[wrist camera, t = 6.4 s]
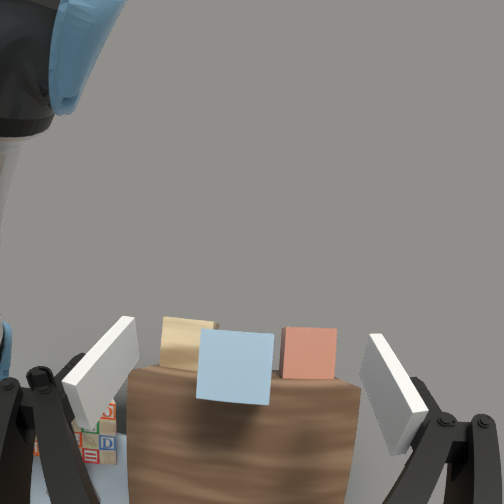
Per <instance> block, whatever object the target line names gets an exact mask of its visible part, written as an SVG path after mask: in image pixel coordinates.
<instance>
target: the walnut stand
mask: <svg viewBox="0 0 504 504" xmlns="http://www.w3.org/2000/svg"><path fill="white" fill-rule="evenodd" d="M159 365H160V364H158V365H153V366H148V367H144V368H139V369H134V370H131V372H130V373H129V375H128V390H127V470H128V488H129V502H130V504H344V499H345V495H346V490H347V484H348V479H349V474H350V469H351V463H352V457H353V451H354V444H355V437H356V430H357V422H358V414H359V404H360V395H361V388H359V387H357V386H354V385H352V384H350V383H347V382H345V381H343V380H340V379H338V378H336V377H334V379H289V378H282V377H281V375H280V374H279V370H272V372H271V385H270V397H269V405H259V404H245V403H234V402H224V401H215V400H207V399H199V398H196V389H197V374H198V371H190V370H183V369H176V368H169V367H162V366H159Z"/></svg>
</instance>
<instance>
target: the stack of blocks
mask: <svg viewBox="0 0 504 504" xmlns="http://www.w3.org/2000/svg"><path fill="white" fill-rule="evenodd" d="M115 410H116V403H115V402H114V400H113V399H112V401H111V402H110V404H109V405H108V407H107V408H106V410H105V411H104V413H103V415H102V416H101V418H100V419H99V421H98V422H97V424H96V425H95V427H94V429H93V430H92V431H91V430H88V429H85V428H82V427H79V426H78V424H77V422H76V419H75V418H74V420H73V421H72V422H71V424H72V426H73V429H74V433H75V436H76V437H78V438H79V443H78V446H79V449H80V452H81V455H82V458H83V461H84V462H87V463H98V464H113V465H116V419H115V412H116V411H115ZM33 455H37V456H40V454H39V449H38V443H37V436H36V438H35V446H34V454H33Z"/></svg>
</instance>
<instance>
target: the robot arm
mask: <svg viewBox="0 0 504 504" xmlns="http://www.w3.org/2000/svg"><path fill="white" fill-rule="evenodd" d="M126 1H127V0H0V241H1V235H2V229H3V223H4V219H5V213H6V210H7V205H8V201H9V196H10V192H11V189H12V185H13V181H14V177H15V174H16V171H17V167H18V164H19V161H20V158H21V155H22V151H23V148H24V146H25V144H26V143H27V142H29V141H31V140H33V139H35V138H37V137H39V136H41V135H43V134H44V133H45V132H46V131H47V130H48V128H49V126H50V124H51V122H52V120H53V117H54V115H55V114H56V115H58V116H61V115H64V114H66V115H69V114H72V112H74V110H75V109H76V106H77V104H78V102H79V99H80V97H81V95H82V92H83V89H84V87H85V85H86V82H87V80H88V78H89V75H90V73H91V71H92V69H93V67H94V65H95V63H96V60H97V58H98V56H99V54H100V52H101V50H102V48H103V46H104V44H105V41H106V40H107V37H108V36H109V33H110V31H111V30H112V28H113V26H114V24H115V22H116V20H117V18H118V16H119V14H120V13H121V11H122V9H123V7H124V5H125V3H126ZM11 348H12V330H11V327H10V325H9V324H7V323H5V322H4V321H2V318H1V315H0V504H30V488H31V474H32V463H33V454H34V446H35V438H36V436H37V443H38V449H39V454H40V459H41V464H42V469H43V474H44V478H45V482H46V486H47V490H48V494H49V497H50V501H51V504H100V502H99V500H98V498H97V495H96V493H95V490H94V488H93V485H92V483H91V480H90V478H89V475H88V472H87V470H86V467H85V464H84V461H83V458H82V455H81V452H80V449H79V446H78V443H77V439H76V436H75V433H74V429H73V426H72V424H71V422H72V421H73V420H74V418H75V419H76V422H77V424H78V426H79V427H82V428H85V429H88V430H91V431H92V430H93V429H94V427H95V425H96V424H97V422H98V421H99V419H100V418H101V416H102V415H103V413H104V411H105V410H106V408H107V407H108V405H109V404H110V402H111V401H112V399H113V397H114V396H115V394H116V393H117V391H118V390H119V388H120V387H121V385H122V384H123V382H124V381H125V379H126V378H127V376H128V375H129V373H130V372H131V370H132V369H133V367H134V366H135V364H136V363H137V361H138V360H139V358H140V355H139V348H138V340H137V332H136V324H135V318H134V317H128V316H122V317H121V318H120V319H119V320H118V322H116V324H115V325H114V326H113V327H112V328H111V329H110V330H109V331H108V332H107V333H106V334H105V335H104V336H103V337H102V338H101V339H100V340H99V341H98V342H97V343H96V344H95V346H94V347H93V348H92V349H91V350H90V351H89V352H88V353H87V354H85V353H80V354H79V355H77V356H75V357H74V358H72V359H71V360H70V361H69V363H68V364H67V365H66V366H65V367H64V368H63V369H62V370H61V371H60V372H59V373H58V374H57V375H56V376H55V377H54V376H53V373H52V371H51V370H50V369H49V368H48V367H45V366H38V367H34V368H32V369H30V370H29V371H28V372H27V375H26V378H27V381H28V384H29V386H30V388H24V387H21V386H20V383H19V381H18V380H17V379H15V378H11V377H10V378H9V368H10V360H11ZM359 375H360V377H361V380H362V382H363V385H364V387H365V389H366V392H367V395H368V397H369V400H370V402H371V405H372V407H373V410H374V413H375V415H376V418H377V420H378V423H379V426H380V428H381V431H382V433H383V436H384V439H385V441H386V444H387V447H388V450H389V453H390V455H391V456H393V455H400V454H405V453H406V452H407V450H408V449H409V447H410V445H411V447H412V449H413V453H412V454H411V456H410V457H409V459H408V461H407V462H406V464H405V467H404V469H403V471H402V472H401V474H400V476H399V477H398V479H397V481H396V482H395V484H394V486H393V487H392V489H391V491H390V492H389V494H388V495H387V497H386V498H385V500H384V502H383V503H382V504H427V503H428V501H429V498H430V497H431V494H432V492H433V490H434V488H435V486H436V483H437V481H438V478H439V476H440V474H441V471H442V469H443V466H444V464H445V463H448V465H447V478H446V488H445V496H444V503H443V504H502V479H501V478H502V477H501V464H500V454H499V445H498V437H497V431H496V424H495V421H494V420H493V419H492V418H491V417H490V416H488V415H485V414H477V415H475V416H474V417H473V419H472V421H471V422H457V420H456V418H455V417H454V416H453V415H451V414H449V413H446V412H442V411H441V409H440V408H439V406H438V405H437V403H436V401H435V400H434V398H433V397H432V395H431V394H430V392H429V390H427V387H426V386H425V384H424V383H423V382H422V381H421V380H419V379H418V378H417V377H410V378H409V376H408V375H407V373H406V372H405V370H404V368H403V367H402V365H401V364H400V362H399V360H398V359H397V357H396V356H395V354H394V353H393V351H392V349H391V348H390V346H389V345H388V343H387V342H386V340H385V338H384V337H383V336H382V334H369V337H368V342H367V345H366V349H365V353H364V357H363V361H362V365H361V368H360V372H359Z"/></svg>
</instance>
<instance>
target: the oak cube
mask: <svg viewBox="0 0 504 504" xmlns="http://www.w3.org/2000/svg"><path fill="white" fill-rule="evenodd" d="M219 327H220V324H218V323H216V322H212V321H202V320H192V319H182V318H173V317H164V319H163V329H162V340H161V352H160V365H159V366H162V367H169V368H176V369H183V370H190V371H198V360H199V347H200V335H201V328H204V329H214V330H219Z"/></svg>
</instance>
